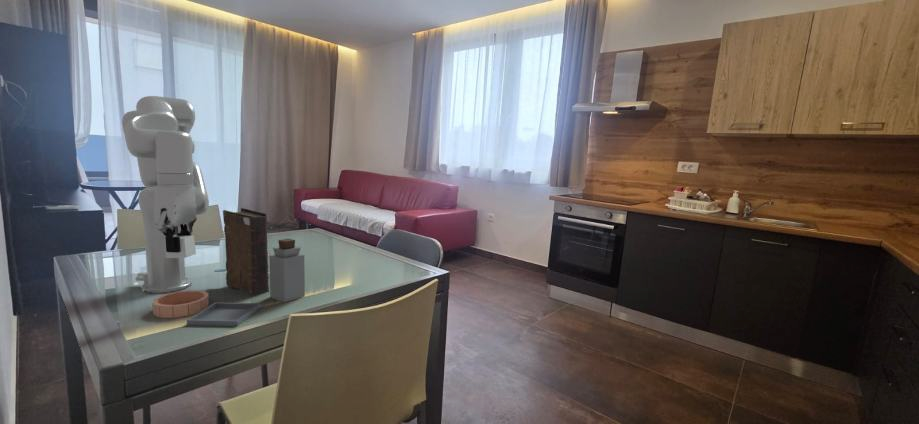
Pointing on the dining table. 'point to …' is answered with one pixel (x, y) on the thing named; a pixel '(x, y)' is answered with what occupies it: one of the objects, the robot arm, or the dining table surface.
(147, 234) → the robot arm
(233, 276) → the book
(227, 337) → the dining table surface
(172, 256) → the white cube
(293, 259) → the perfume bottle
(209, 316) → the tray
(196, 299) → the terracotta bowl
